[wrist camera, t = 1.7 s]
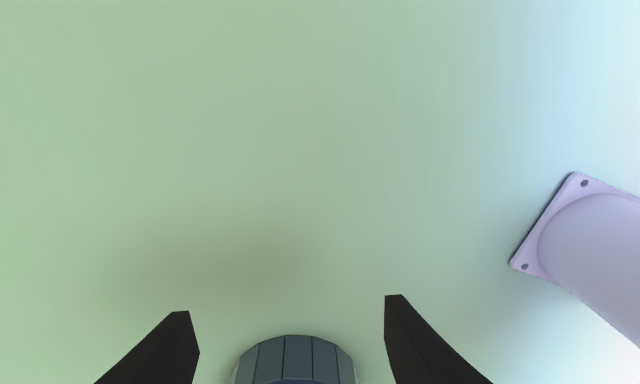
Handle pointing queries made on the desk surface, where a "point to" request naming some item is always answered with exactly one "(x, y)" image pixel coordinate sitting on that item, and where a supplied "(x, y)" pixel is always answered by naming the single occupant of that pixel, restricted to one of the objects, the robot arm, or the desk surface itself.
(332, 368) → the gray segmented ring
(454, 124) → the desk surface
